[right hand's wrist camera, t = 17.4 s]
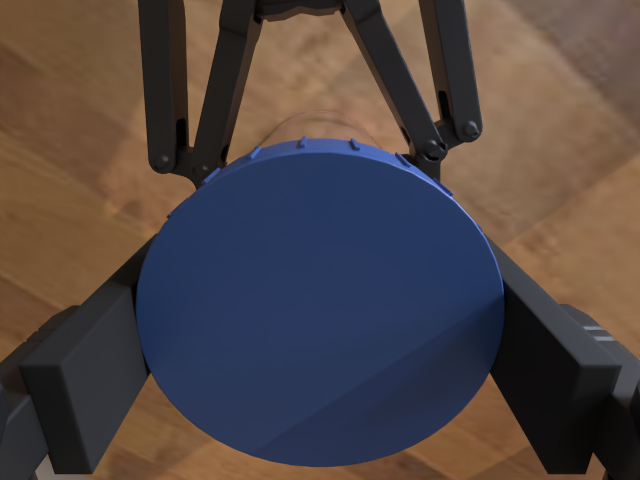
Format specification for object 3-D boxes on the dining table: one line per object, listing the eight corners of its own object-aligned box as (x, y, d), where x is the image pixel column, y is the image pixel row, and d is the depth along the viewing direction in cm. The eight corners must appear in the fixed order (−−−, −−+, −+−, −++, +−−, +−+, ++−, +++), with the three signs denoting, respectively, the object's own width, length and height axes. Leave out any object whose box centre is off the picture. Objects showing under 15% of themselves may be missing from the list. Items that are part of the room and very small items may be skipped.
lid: (463, 99, 10) (497, 104, 8) (487, 390, 13) (514, 441, 12) (111, 178, 11) (67, 200, 9) (217, 435, 14) (202, 489, 12)
